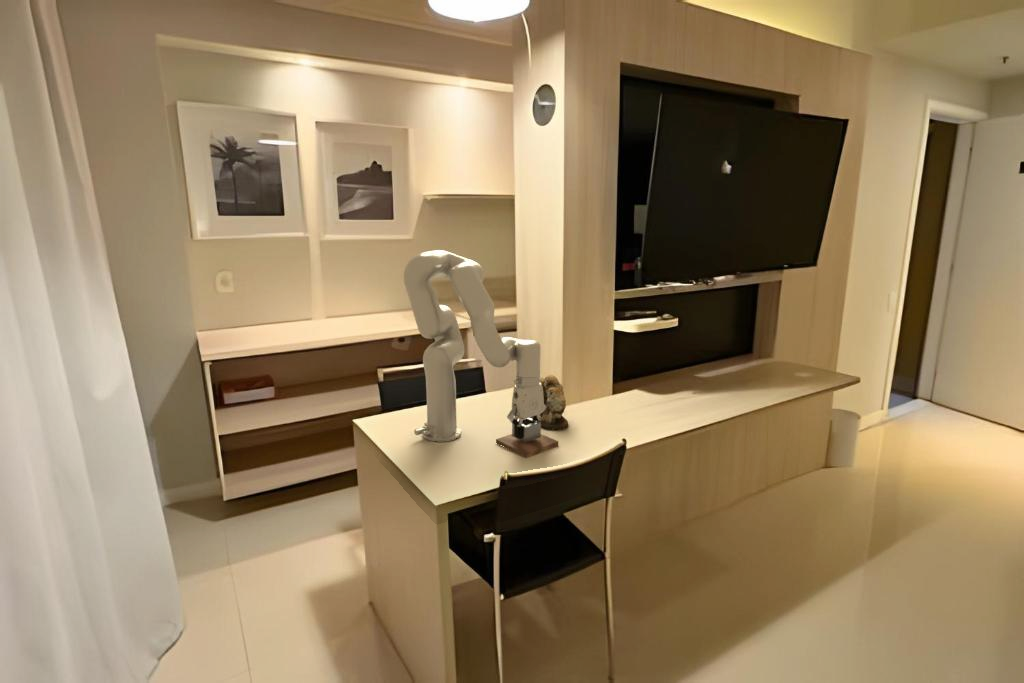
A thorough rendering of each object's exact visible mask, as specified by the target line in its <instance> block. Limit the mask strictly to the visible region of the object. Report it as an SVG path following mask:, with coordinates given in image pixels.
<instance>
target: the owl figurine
mask: <svg viewBox="0 0 1024 683" xmlns="http://www.w3.org/2000/svg"><path fill="white" fill-rule="evenodd" d="M540 383H541V384H542V388H543V396H544V404H545V405H546V409H545V410H544V412H543V415H542V416H541V420H540V421H539V422H541V430H542V429H543V430H547V431H563V430H566V429H567V428H568V427H569V422H568V420H567V419H566V418H565V417H564V416H563V414H564V412H565V409H566V407H567V404H566V401H567V399H566V397H565V394H564V393H565V392H564V386H563V384H561V383H560V381H559V379H558V378H557V377H556V376H555V375H553V374H549V375H546V376H545V377H540ZM530 418H531V419H532V418H533V417H530Z"/></svg>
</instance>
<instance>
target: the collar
mask: <svg viewBox="0 0 1024 683" xmlns="http://www.w3.org/2000/svg"><path fill="white" fill-rule="evenodd" d="M517 421H519V418H518V420H517ZM511 424H512V426H511V434H512V436H513V437H515V436H514V425H513V423H512V422H511ZM521 426H522V427H523V436H522V439H519V438H517V437H515V438H517V439H519V440H521V441H523V442H529V441H532V440H534V439H537V438H540V437H541V434H542V433H541V432H542V428H541V422H539V421H536V420H534V419H532V418H527V419H523V422H522V425H521Z"/></svg>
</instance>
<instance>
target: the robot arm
mask: <svg viewBox="0 0 1024 683" xmlns="http://www.w3.org/2000/svg"><path fill="white" fill-rule="evenodd" d="M440 277H441V278H444V279H447V280H449V282H450V284H451V286H452V288H453V289H454V291H455V294H456V295H457V297H458V298H459V301H460V303H461V304H462V306H463V307H464V310H465V311H466V313H467V315H468V317H469V319H470V324H471V325H470V326H471V328H472V332H473V336H474V339H475V342H476V344H477V346H478V348H479V350H480V352H481V353H482V355H483V357H484V359H485V360H486V361H487V363H488V364H490V365H491V366H492V367H495V368H499V369H500V368H504V367H506V366H507V365H509V363H511V362H513V361H515V379H514V380H513V383H514V384H515V385H513V391H512V399H511V410H510V411H509V412H508V414H507V416H506V418H507V420H509V422H510V423H511V424H512V423H513V425H514V436H515V437H517V438H519V439H522V436H523V427H522V426H521V425H522V422H523V419H527V418H530V417H533V418H531V419H534V420H536V421H540V420H541V416H542V415H543V412H544V410H545V409H546V405H545V404H544V396H543V388H542V384H541V383H540V378H541V352H542V350H541V348H542V347H541V343H540V342H539V341H537V340H533V339H519V338H516V337H515V338H514V337H510V336H505V337H504V336H503V337H501V335H500V334H499V332H498V330H497V327H496V324H495V303H494V301H493V299H492V298H491V296H490V294H489V293H488V290H487V289H486V287H485V286H484V283H483V282H484V279H485V272H484V269H483V267H482V265H480V264H479V263H478V262H476V261H474V260H472V259H470V258H469V259H468V258H466V257H463V256H460V255H457V254H455V253H452V252H449V251H446V250H442V249H436V250H434V249H433V250H427V251H423V252H420V253H417V254H416V255H413V257H412V258H410V260H409V261H408V262H407V264H406V265H405V267H404V271H403V282H404V283H403V284H404V287H405V290H406V292H407V295H408V299H409V302H410V306H411V309H412V313H413V317H414V320H415V323H416V327H417V330H418V332H419V334H420V335H421V336H422V337H423V338H425V339H429V340H432V339H434V340H435V341H434V342H432V343H431V344H429V345H428V346H427V348H426V349H425V350H424V352H423V356H422V365H423V369H424V370H423V371H424V375H425V389H426V418H427V419H426V422H424V425H423V426H422V427H419V428H416V429H414V430H413V433H414V435H415V436H419V435H422V437H423V438H424V439H426V440H427V441H429V442H430V441H431V442H435V441H437V443H440V442H441V443H442V441H446V442H450V441H449V440H451V441H454V440H453V439H455V440H457V439H458V438H460V437H461V436H462V429H461V428H460V427H458V426H457V384H456V382H457V380H456V375H455V370H454V366H455V365H456V364H457V363H459V361H460V360H462V359H463V356H464V354H465V345H464V341H463V337H462V333H461V330H460V327H459V326H460V325H459V323H458V320H457V316H456V315H455V312H453V310H452V309H451V308H450V307H448V305H446V304H445V305H444V304H440V302H439V300H438V296H437V293H436V290H435V288H434V287H433V285H432V280H433V279H437V278H440ZM518 419H519V421H517V420H518ZM460 435H461V436H460ZM459 436H460V437H459ZM456 438H457V439H456Z"/></svg>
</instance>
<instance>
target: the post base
mask: <svg viewBox="0 0 1024 683" xmlns="http://www.w3.org/2000/svg"><path fill="white" fill-rule="evenodd" d="M496 443H497V444H496ZM495 444H496V445H498V444H499V445H498V446H500V445H502V446H504V447H505V448H504V447H503V448H504V449H506V448H507V449H506V450H508V449H509V451H510V450H511V451H510V452H512V451H513V452H512V453H514V452H515V453H514V454H516V453H517V455H518V454H519V456H520V455H521V457H522V456H523V457H522V458H525V459H527V458H530V457H532V456H536V455H538V454H540V453H543V452H545V451H548V450H551V449H553V448H556V447H559V440H557V439H554V438H552V437H549V436H547V435H545V434H542V433H541V437H540V438H537V439H534V440H532V441H529V442H523V441H521V440H519V439H517V438H515V437H513V436H512V433H511V434H507V435H505V436H502V437H498V438H496V439H495ZM502 446H501V447H502Z"/></svg>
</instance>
